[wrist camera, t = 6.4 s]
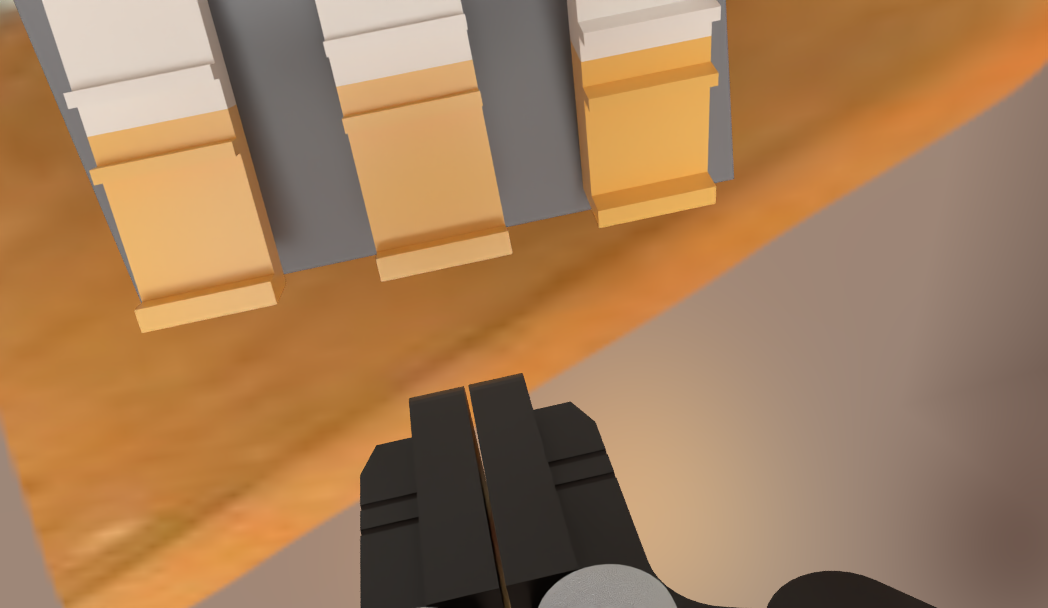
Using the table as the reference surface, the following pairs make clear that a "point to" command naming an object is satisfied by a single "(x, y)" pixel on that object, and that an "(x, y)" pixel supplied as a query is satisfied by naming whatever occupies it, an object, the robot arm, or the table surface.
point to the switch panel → (323, 147)
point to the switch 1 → (169, 155)
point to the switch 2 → (643, 104)
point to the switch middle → (415, 132)
